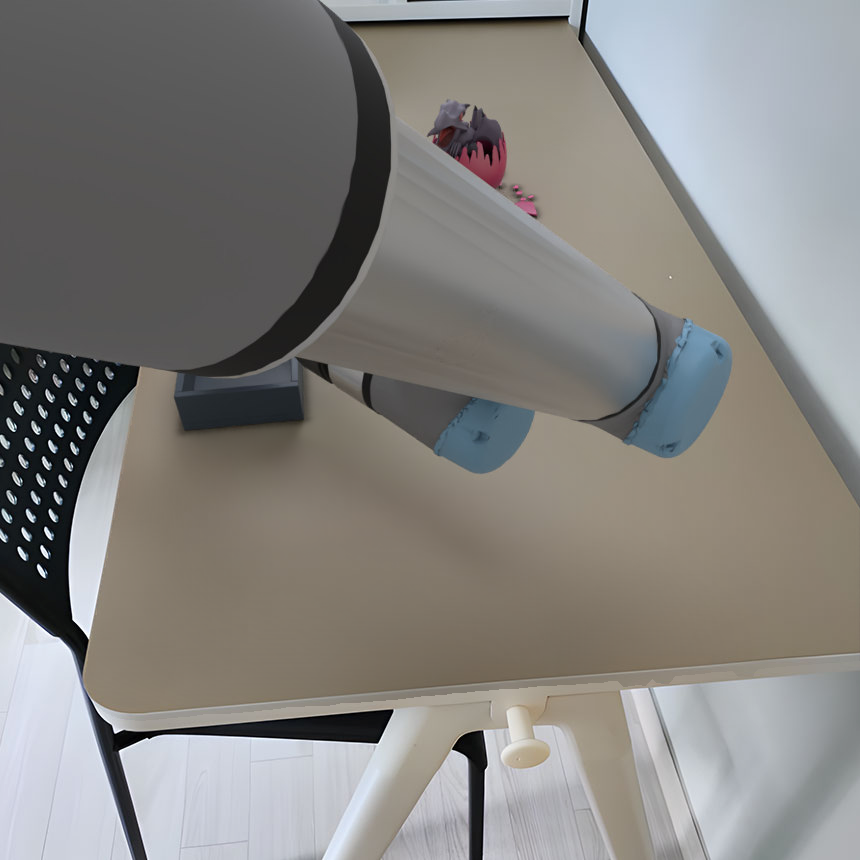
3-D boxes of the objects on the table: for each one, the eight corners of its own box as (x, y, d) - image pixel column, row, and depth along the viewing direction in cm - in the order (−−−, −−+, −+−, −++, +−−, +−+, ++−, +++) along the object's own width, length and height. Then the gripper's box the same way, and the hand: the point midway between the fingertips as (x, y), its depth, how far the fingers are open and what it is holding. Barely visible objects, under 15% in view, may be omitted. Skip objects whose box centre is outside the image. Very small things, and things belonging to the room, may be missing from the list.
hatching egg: (381, 179, 115) (375, 80, 106) (487, 156, 120) (490, 59, 110) (441, 249, 102) (440, 143, 92) (557, 219, 106) (568, 116, 97)
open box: (304, 419, 80) (298, 385, 77) (184, 430, 79) (173, 397, 76) (302, 335, 90) (297, 302, 87) (195, 344, 89) (186, 311, 86)
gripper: (269, 443, 63) (107, 323, 75) (442, 327, 73) (275, 237, 85) (252, 367, 58) (81, 250, 70) (441, 254, 68) (264, 168, 80)
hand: (188, 243), depth 77 cm, fingers closed on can, 7 cm apart
